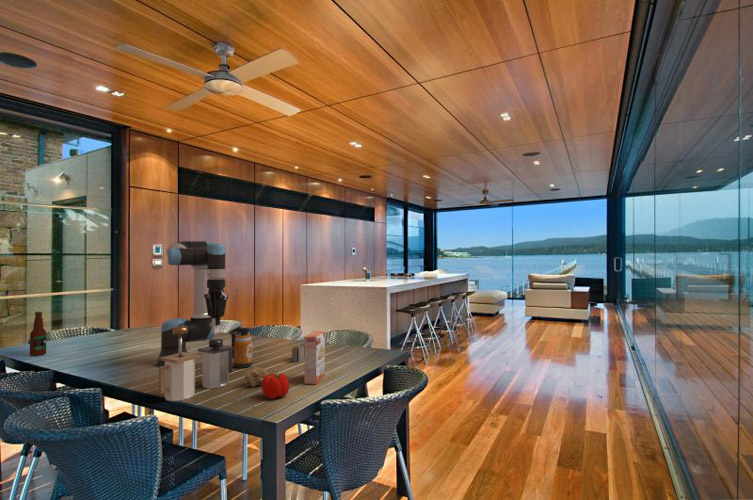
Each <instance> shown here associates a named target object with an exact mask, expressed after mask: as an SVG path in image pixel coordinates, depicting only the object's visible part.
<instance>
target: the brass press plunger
mask: <svg viewBox="0 0 753 500" xmlns="http://www.w3.org/2000/svg"><path fill="white" fill-rule="evenodd" d="M183 334H188V326H176V327H173V335H179V357H182V335H183Z"/></svg>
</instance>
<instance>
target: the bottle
mask: <svg viewBox="0 0 753 500" xmlns="http://www.w3.org/2000/svg"><path fill="white" fill-rule="evenodd" d="M34 314H35V315H34V316H35V317H34V320H33V329H32V330H31V331H30V334H29V356H30V357H40V356H39V355H42V356H44V354H45V355H46V354H47V330H46V329H45V328H44V319H43V312H42V311H35V312H34Z"/></svg>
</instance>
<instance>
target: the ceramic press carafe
mask: <svg viewBox="0 0 753 500" xmlns="http://www.w3.org/2000/svg"><path fill="white" fill-rule="evenodd" d="M199 358H201V354H197V353H191V352H187V353H186V352H182V357H179V353H178V354H173V355H169V356H164V357H160V360H162V361H165V366H161V367H160V366H158V394H159V395H164V399H165V401H167V402H178V401H179V400H181V401H186V400H188V399H191V398H193V397H194V396H195V391H196V390H195V387H196V378H195V377H196V359H199ZM185 399H186V400H185ZM179 402H180V401H179Z"/></svg>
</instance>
